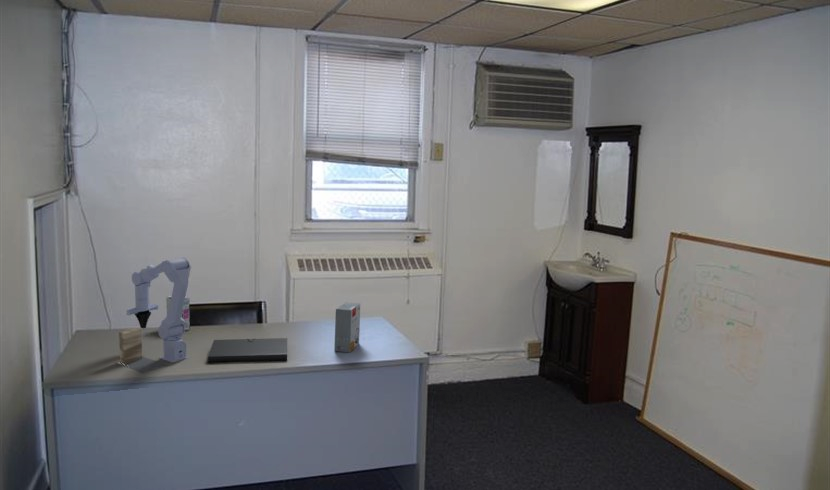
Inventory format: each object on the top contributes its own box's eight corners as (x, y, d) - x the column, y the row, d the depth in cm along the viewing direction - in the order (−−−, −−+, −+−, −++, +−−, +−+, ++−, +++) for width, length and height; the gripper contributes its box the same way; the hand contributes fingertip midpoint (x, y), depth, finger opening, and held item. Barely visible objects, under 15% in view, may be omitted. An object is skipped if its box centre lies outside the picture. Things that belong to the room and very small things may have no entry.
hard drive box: (350, 353, 298) (350, 310, 295) (334, 351, 299) (334, 309, 296) (359, 343, 313) (360, 302, 310) (344, 342, 314) (345, 301, 311)
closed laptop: (287, 337, 307) (287, 353, 283) (287, 345, 307) (287, 363, 284) (214, 338, 301) (207, 356, 277) (214, 347, 301) (207, 365, 278)
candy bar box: (190, 329, 326) (189, 297, 324) (182, 332, 322) (182, 299, 319) (174, 326, 331) (173, 294, 329) (166, 328, 327) (165, 296, 324)
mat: (169, 365, 273) (168, 364, 273) (143, 373, 263) (143, 372, 263) (139, 356, 284) (139, 355, 284) (113, 363, 274) (113, 362, 274)
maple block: (142, 358, 280) (141, 329, 278) (125, 363, 273) (124, 333, 271) (137, 357, 282) (136, 327, 280) (120, 361, 275) (119, 332, 273)
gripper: (151, 293, 298) (151, 322, 300) (121, 299, 286) (122, 329, 288) (160, 296, 294) (161, 325, 296) (131, 302, 282) (132, 332, 284)
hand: (143, 327), depth 292 cm, fingers closed
